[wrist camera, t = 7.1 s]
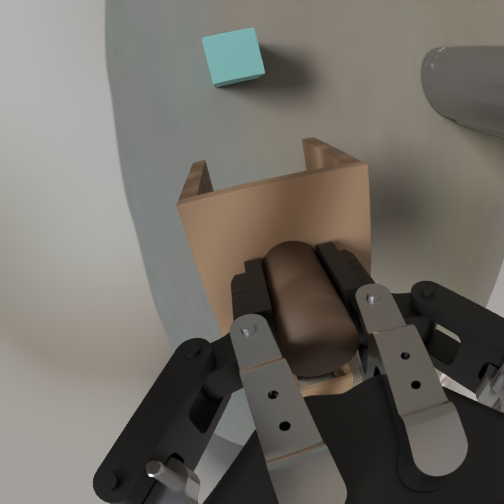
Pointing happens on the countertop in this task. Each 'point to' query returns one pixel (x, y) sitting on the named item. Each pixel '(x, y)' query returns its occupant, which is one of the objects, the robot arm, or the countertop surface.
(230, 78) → the block
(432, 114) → the countertop surface
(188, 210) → the brown forked piece
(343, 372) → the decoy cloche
